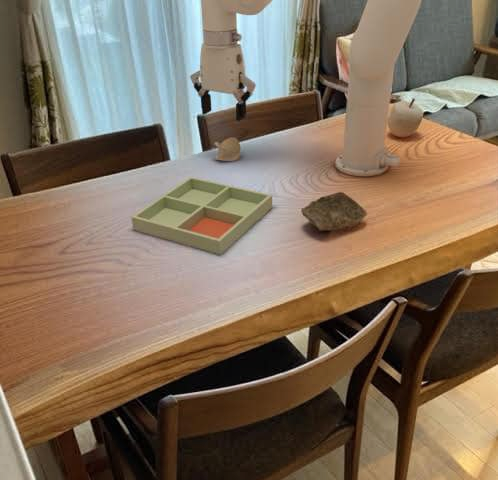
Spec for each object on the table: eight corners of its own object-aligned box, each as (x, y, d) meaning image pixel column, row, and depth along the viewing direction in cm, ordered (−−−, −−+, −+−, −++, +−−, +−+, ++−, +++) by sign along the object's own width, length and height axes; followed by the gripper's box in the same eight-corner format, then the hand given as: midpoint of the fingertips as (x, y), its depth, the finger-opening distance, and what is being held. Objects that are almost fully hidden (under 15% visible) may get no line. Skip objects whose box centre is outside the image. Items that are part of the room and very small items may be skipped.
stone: (328, 238, 102) (312, 198, 101) (305, 247, 109) (290, 210, 108) (374, 218, 107) (359, 180, 107) (349, 228, 114) (335, 192, 114)
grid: (272, 207, 116) (272, 194, 114) (220, 254, 102) (219, 241, 100) (191, 188, 124) (190, 176, 122) (133, 229, 110) (131, 216, 109)
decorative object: (380, 132, 148) (385, 94, 141) (409, 128, 149) (415, 91, 143) (394, 144, 141) (400, 105, 135) (425, 140, 142) (432, 101, 136)
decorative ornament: (245, 156, 138) (245, 136, 134) (219, 166, 134) (218, 144, 130) (236, 152, 140) (235, 131, 137) (210, 161, 136) (208, 140, 133)
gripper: (262, 38, 119) (262, 116, 130) (197, 30, 125) (202, 106, 136) (245, 45, 114) (246, 126, 125) (178, 37, 120) (185, 115, 131)
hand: (223, 115), depth 130 cm, fingers open, 9 cm apart
